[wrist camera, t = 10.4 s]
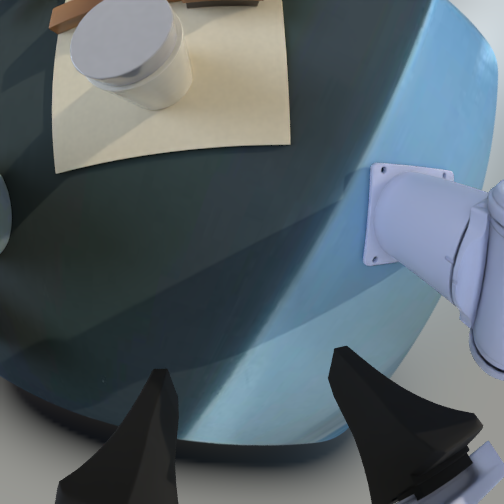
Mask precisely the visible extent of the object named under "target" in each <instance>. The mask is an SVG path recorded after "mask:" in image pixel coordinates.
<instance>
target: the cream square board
mask: <svg viewBox="0 0 504 504" xmlns="http://www.w3.org/2000/svg"><path fill="white" fill-rule="evenodd" d="M69 1H71V0H66V1H65V3H67V2H69ZM169 4H170V6H171V8H172V10H173V11H174V12H175V13H176V14H177V16H178V17H179V19H180V21H181V23H182V27H183V31H184V35H185V40H186V44H187V48H188V52H189V56H190V60H191V64H192V68H193V79H192V83H191V86H190V88H189V90H188V91H187V93H186V94H185V95H184V96H183V97H182V98H181V99H180V100H179V101H178V102H176V103H175V104H173V105H171V106H169V107H167V108H164V109H160V110H146V109H142V108H140V107H138V106H136V105H134V104H131V103H129V102H127V101H125V100H123V99H121V98H119V97H117V96H115V95H113V94H111V93H108V92H106V91H104V90H102V89H100V88H97V87H96V86H94V85H93V84H92V83H91V82H89V80H88V79H87V78H86V76H84V75H83V74H81V73H80V72H79V71H78V70H77V69H76V68H75V67H74V65H73V63H72V60H71V56H70V45H71V40H72V37H73V34H74V32H75V30H76V28H77V27H75V28H72V29H70V30H67V31H65V32H63V33H60V34H58V40H57V46H56V54H55V63H54V74H53V90H52V133H53V150H54V162H55V171H56V174H58V173H62V172H65V171H69V170H73V169H78V168H82V167H86V166H91V165H95V164H100V163H105V162H110V161H115V160H121V159H126V158H132V157H138V156H145V155H151V154H158V153H166V152H174V151H183V150H192V149H203V148H215V147H230V146H251V145H290V115H289V92H288V73H287V57H286V43H285V30H284V19H283V8H282V0H264V1H259V3H258V6H215V7H199V8H189V9H187V7H186V3H182V1H177V2H170V3H169Z"/></svg>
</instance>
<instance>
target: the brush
mask: <svg viewBox="0 0 504 504" xmlns="http://www.w3.org/2000/svg"><path fill="white" fill-rule="evenodd" d="M102 1H103V0H71V1H69V2H67V3H64V4H62V5H60V6H58V7H55V8H54V9H53V11H52V15H51V20H50V24H49V29H50V30H52V31H53V32H55V33H57V34H60V33H63V32H65V31H67V30H70V29H72V28H75V27H77V26H78V24H79V23H80V21H81V20H82V19H83V17H84V16H85V15H86V14H87V13H88V12H89V11H90V10H91V9H92V8H93V7H95V6H96V5H97V4H99V3H100V2H102ZM167 1H168V2H169V3H170V2H177V1H182V3H186V7H187V9H189V8H199V7H215V6H258V3H259V1H264V0H167Z"/></svg>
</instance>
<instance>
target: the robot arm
mask: <svg viewBox="0 0 504 504" xmlns="http://www.w3.org/2000/svg"><path fill="white" fill-rule="evenodd" d="M382 167H383V168H384V171H383V172H381V168H382ZM374 257H376V258H375V260H373V258H374ZM363 262H364V264H366V265H367V266H372V265H379V264H387V263H394V262H400V263H401V264H403V265H404V266H405V267H407V268H408V269H409V270H411V271H412V272H413V273H415V274H416V275H417V276H418V277H420V278H421V279H422V280H424V281H425V282H426V283H428V284H429V285H430V286H431V287H433V288H434V289H435V290H436V291H438V292H439V293H440V294H441V295H443V296H444V297H445V298H446V299H447V300H449V301H450V302H451V303H452V304H453V305H455V306H456V307H457V308H458V309H459V311H460V320H461V321H462V322H463V323H465V324H466V325H467V326H468V327H469V328H470V332H469V347H470V351H471V354H472V356H473V358H474V360H475V361H476V363H477V364H478V366H479V367H480V368H481V369H482V370H483V371H484V372H486V373H487V374H488V375H490V376H492V377H494V378H496V379H499V380H503V381H504V180H502V181H500V182H499V183H498V184H497V185H496V186H495V187H493V188H492V189H491V190H490V191H489V193H488V192H485V191H482V190H479V189H476V188H473V187H469V186H466V185H463V184H460V183H456V182H454V174H453V172H452V171H448V170H441V169H434V168H426V167H418V166H409V165H399V164H388V163H373V164H372V165H371V168H370V188H369V205H368V217H367V228H366V238H365V247H364V255H363ZM328 380H329V383H330V386H331V389H332V392H333V395H334V397H335V400H336V402H337V404H338V406H339V408H340V410H341V412H342V414H343V416H344V418H345V420H346V422H347V424H348V426H349V428H350V430H351V432H352V434H353V436H354V439H355V441H356V444H357V447H358V450H359V453H360V456H361V459H362V463H363V466H364V469H365V473H366V477H367V481H368V485H369V491H370V496H371V500H372V504H394V503H395V504H477V503H478V502H479V501H480V500H481V499H482V498H483V497H484V496H485V495H486V494H487V493H488V492H489V491H490V490H491V489H492V488H493V487H494V486H495V485H496V484H497V483H498V482H499V481H500V480H501V479H502V478H503V477H504V463H503V462H502V460H501V458H500V457H499V456H498V454H497V452H496V451H495V449H494V448H493V446H492V445H491V443H490V442H489V441H487V442H485V443H484V444H483V445H482V446H481V447H479V448H478V449H477V450H476V451H475V452H473V453H472V454H471V455H470V456H468V454H467V452H468V451H469V448H468V446H467V445H468V443H470V441H472V440H473V439H474V437H475V436H476V435H477V434H478V433H479V432H480V431H481V430H482V428H483V425H482V423H481V422H480V421H479V419H478V418H477V416H476V415H475V414H474V413H469V412H464V411H459V410H455V409H451V408H447V407H444V406H441V405H438V404H435V403H433V402H430V401H428V400H426V399H424V398H421V397H419V396H417V395H415V394H413V393H412V392H410V391H408V390H406V389H404V388H403V387H401V386H399V385H398V384H396V383H395V382H393V381H392V380H390V379H389V378H387V377H386V376H384V375H383V374H382V373H380V372H379V371H378V370H376V369H375V368H374V367H372V366H371V365H370V364H369V363H367V362H366V361H365V360H364V359H362V358H361V357H360V356H359V355H357V354H356V353H355V352H354V351H353V350H351V349H350V348H349V347H348V346H343V347H339V348H334V353H333V358H332V362H331V367H330V372H329V376H328ZM178 419H179V412H178V396H177V393H176V391H175V388H174V385H173V383H172V380H171V377H170V374H169V371H168V369H154V370H153V371H152V372H151V374H150V376H149V378H148V380H147V382H146V384H145V386H144V388H143V389H142V391H141V393H140V395H139V396H138V398H137V400H136V401H135V403H134V405H133V406H132V408H131V410H130V411H129V413H128V414H127V416H126V417H125V419H124V420H123V422H122V423H121V424H120V426H119V427H118V428H117V430H116V431H115V432H114V434H113V435H112V436H111V437H110V439H109V440H108V441H107V442H106V443H105V444H104V445H103V446H102V447H101V448H100V449H99V450H98V452H97V453H95V454H94V455H93V456H92V457H91V458H90V459H89V460H88V461H87V462H85V463H84V464H83V465H82V466H81V467H80V468H78V469H77V470H76V471H74V472H73V473H71V474H70V475H68V476H67V477H65V478H64V479H63V480H61V481H59V485H58V488H57V494H56V501H55V504H178V497H177V488H176V475H175V453H176V442H177V430H178ZM398 501H399V502H398ZM396 502H397V503H396Z"/></svg>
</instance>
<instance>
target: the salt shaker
mask: <svg viewBox="0 0 504 504" xmlns="http://www.w3.org/2000/svg"><path fill="white" fill-rule="evenodd" d="M70 56H71V60H72V63H73V65H74V67H75V68H76V69H77V70H78V71H79V72H80V73H81V74H83V75H84V76H86V78H87V79H88V80H89V82H91V83H92V84H93V85H94V86H96V87H97V88H100V89H102V90H104V91H106V92H108V93H111V94H113V95H115V96H117V97H119V98H121V99H123V100H125V101H127V102H129V103H131V104H134V105H136V106H138V107H140V108H142V109H146V110H160V109H164V108H167V107H169V106H171V105H173V104H175V103H176V102H178V101H179V100H180V99H181V98H182V97H183V96H184V95H185V94H186V93H187V91H188V90H189V88H190V86H191V83H192V79H193V68H192V64H191V60H190V56H189V52H188V48H187V44H186V40H185V35H184V31H183V27H182V23H181V21H180V19H179V17H178V16H177V14H176V13H175V12H174V11H173V10H172V8H171V6H170V4H169V2H168V1H167V0H103V1H102V2H100V3H99V4H97V5H96V6H95V7H93V8H92V9H91V10H90V11H89V12H88V13H87V14H86V15H85V16H84V17H83V19H82V20H81V21H80V23H79V24H78V26H77V28H76V30H75V32H74V34H73V37H72V40H71V45H70Z"/></svg>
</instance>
